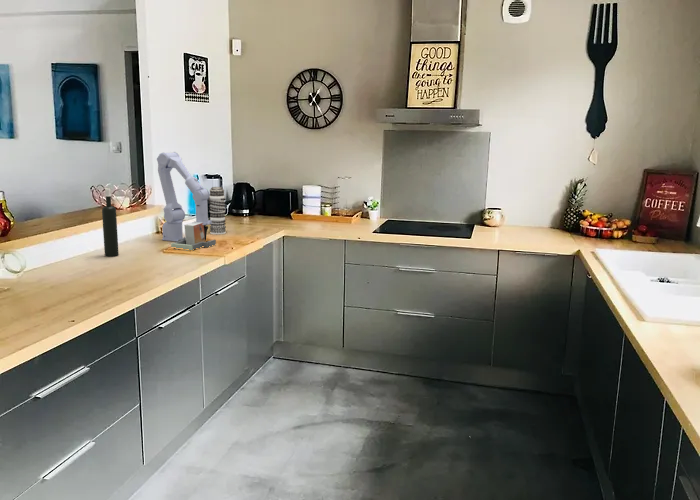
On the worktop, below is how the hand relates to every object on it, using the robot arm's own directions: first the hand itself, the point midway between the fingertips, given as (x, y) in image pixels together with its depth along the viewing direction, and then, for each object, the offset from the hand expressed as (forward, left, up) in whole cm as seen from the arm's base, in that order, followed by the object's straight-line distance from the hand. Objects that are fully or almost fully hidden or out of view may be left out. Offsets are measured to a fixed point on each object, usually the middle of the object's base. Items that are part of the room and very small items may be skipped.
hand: (202, 240), depth 295 cm
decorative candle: (-8, +27, -2) cm, 28 cm away
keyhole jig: (0, -10, -1) cm, 10 cm away
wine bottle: (-21, -41, -2) cm, 46 cm away
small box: (-1, -5, -1) cm, 5 cm away
